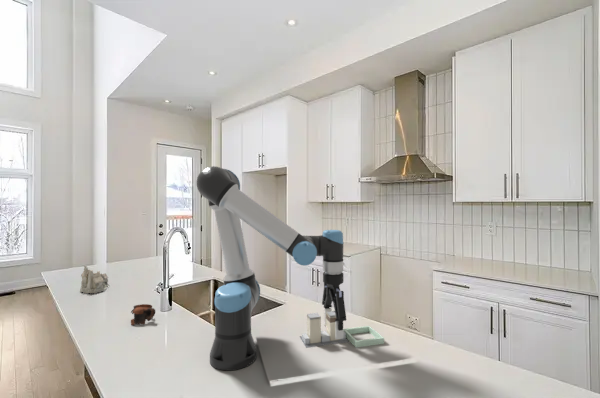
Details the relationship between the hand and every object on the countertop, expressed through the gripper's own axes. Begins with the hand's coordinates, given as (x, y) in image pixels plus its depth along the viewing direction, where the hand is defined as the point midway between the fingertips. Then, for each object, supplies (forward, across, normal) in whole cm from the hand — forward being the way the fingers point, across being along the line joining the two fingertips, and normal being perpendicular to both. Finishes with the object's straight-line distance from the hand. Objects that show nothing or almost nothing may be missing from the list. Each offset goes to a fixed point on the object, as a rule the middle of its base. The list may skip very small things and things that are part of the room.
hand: (333, 331), depth 114 cm
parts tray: (+3, -4, -10) cm, 11 cm away
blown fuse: (+2, 0, 0) cm, 2 cm away
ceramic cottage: (+4, +99, +110) cm, 148 cm away
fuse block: (+3, 0, +4) cm, 5 cm away
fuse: (+2, 0, +8) cm, 8 cm away
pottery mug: (+4, +40, +72) cm, 82 cm away
